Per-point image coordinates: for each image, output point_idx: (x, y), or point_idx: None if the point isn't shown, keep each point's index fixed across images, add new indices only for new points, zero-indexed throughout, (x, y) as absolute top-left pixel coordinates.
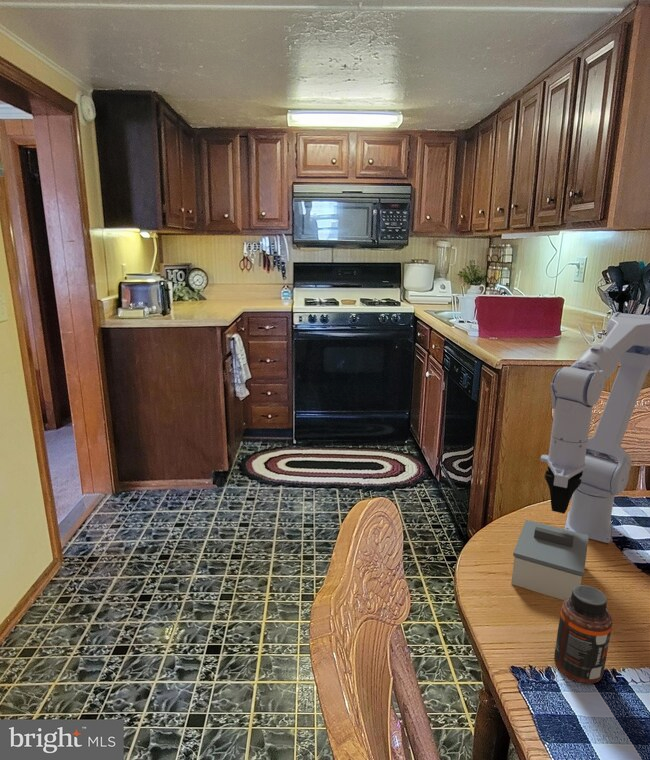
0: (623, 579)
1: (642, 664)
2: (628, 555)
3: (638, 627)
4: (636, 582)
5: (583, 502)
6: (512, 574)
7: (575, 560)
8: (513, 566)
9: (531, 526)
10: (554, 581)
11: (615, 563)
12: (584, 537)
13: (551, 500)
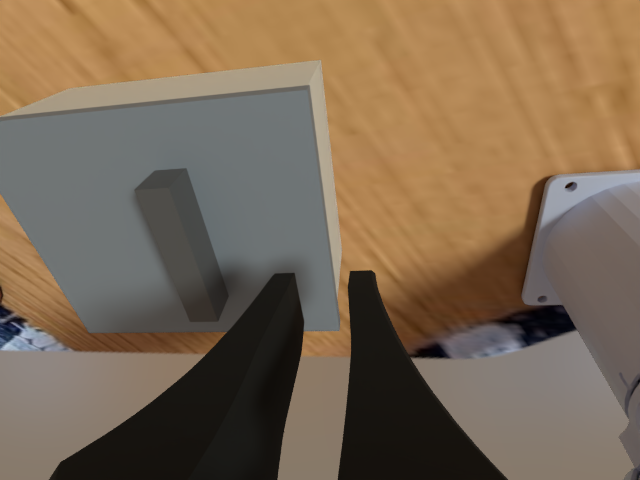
0: None
1: (81, 350)
2: (475, 335)
3: (176, 347)
4: (343, 347)
5: (623, 320)
6: (43, 99)
7: (131, 311)
8: (20, 109)
9: (251, 136)
10: None
11: (409, 312)
12: (312, 321)
13: (243, 316)
